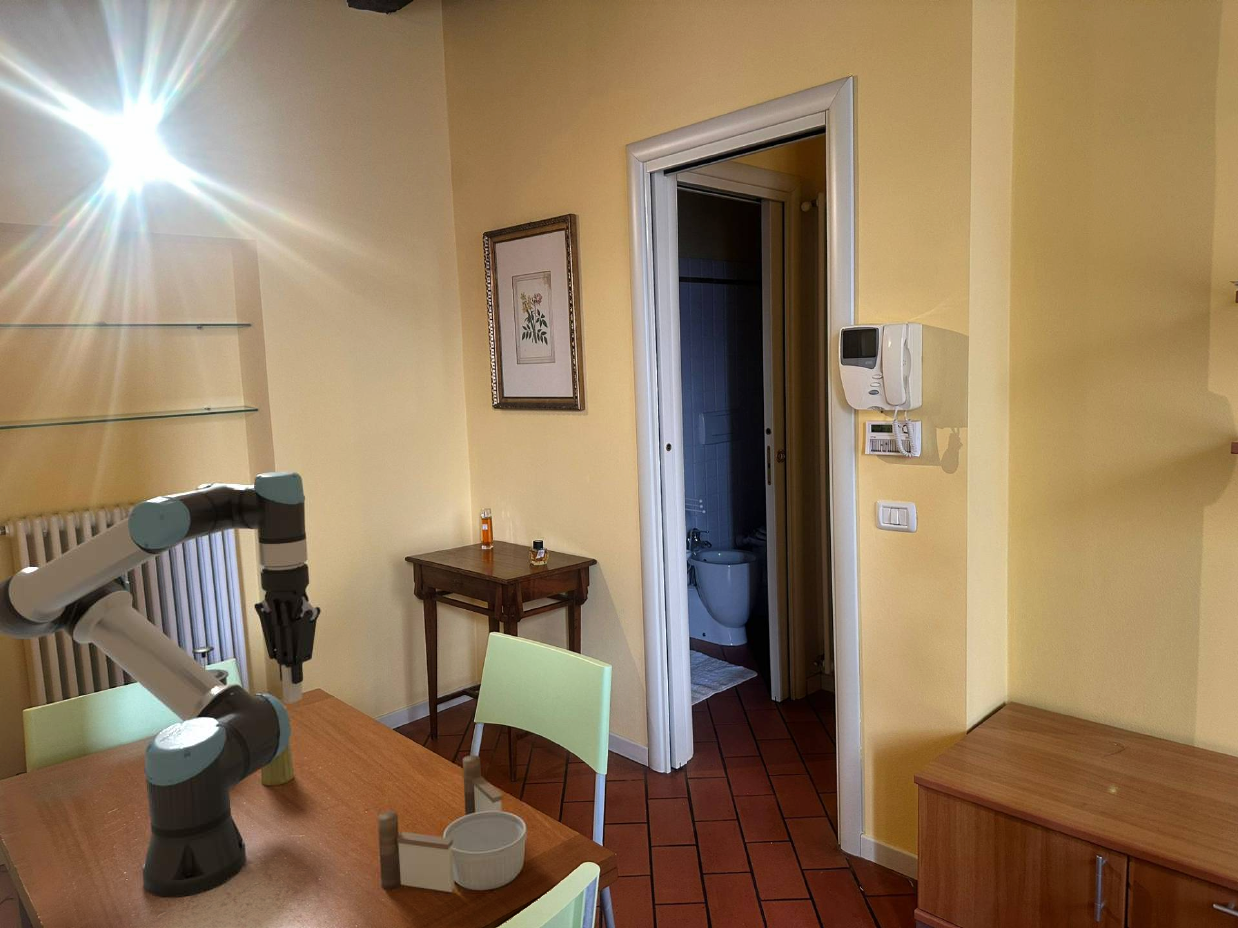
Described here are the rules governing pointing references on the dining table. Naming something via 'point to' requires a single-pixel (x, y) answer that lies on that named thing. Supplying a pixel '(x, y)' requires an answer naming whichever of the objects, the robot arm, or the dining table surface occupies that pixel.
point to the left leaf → (426, 861)
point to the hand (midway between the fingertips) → (293, 700)
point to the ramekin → (487, 849)
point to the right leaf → (486, 796)
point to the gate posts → (391, 833)
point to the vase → (278, 768)
